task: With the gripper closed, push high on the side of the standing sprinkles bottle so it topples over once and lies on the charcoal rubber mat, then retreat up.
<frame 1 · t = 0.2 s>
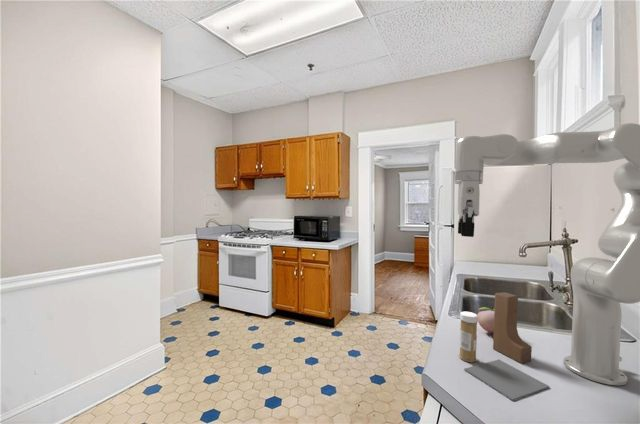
hand: (465, 235, 85), 36 cm above the counter, tool pointing down, fingers open, 9 cm apart
decorative fruit: (492, 334, 100), on the counter
wooden block: (511, 355, 85), on the counter
sprinkles bottle: (467, 359, 83), on the counter
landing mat: (504, 378, 73), on the counter
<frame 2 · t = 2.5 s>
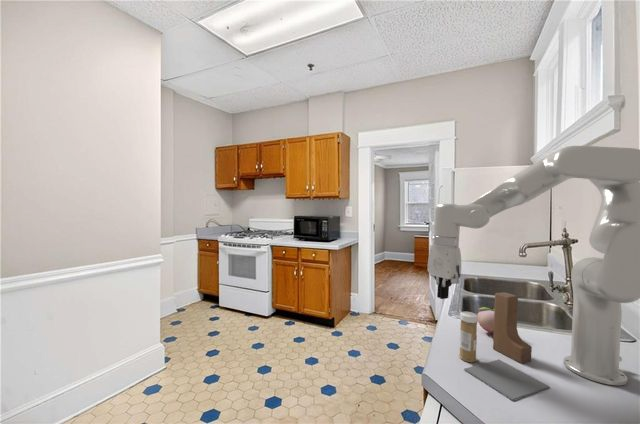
hand: (442, 297, 91), 15 cm above the counter, tool pointing down, fingers closed
nothing on the counter moved.
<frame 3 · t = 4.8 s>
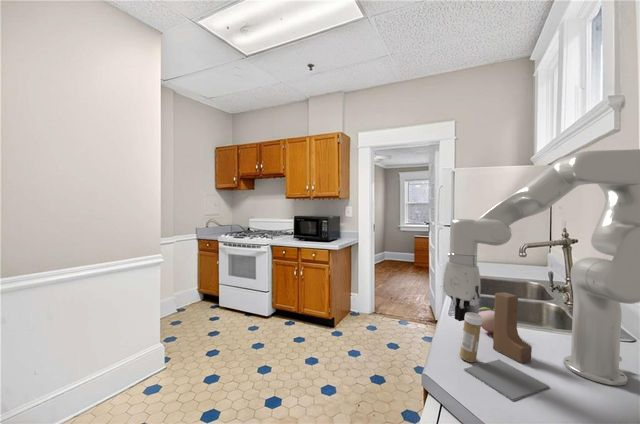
hand: (460, 319, 85), 11 cm above the counter, tool pointing down, fingers closed
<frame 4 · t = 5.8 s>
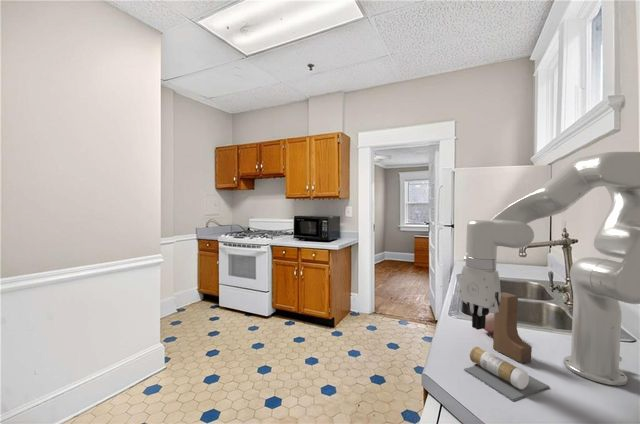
hand: (478, 327, 80), 11 cm above the counter, tool pointing down, fingers closed
sprinkles bottle: (473, 353, 81), point 3 cm above the counter, touching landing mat
everything else where it was.
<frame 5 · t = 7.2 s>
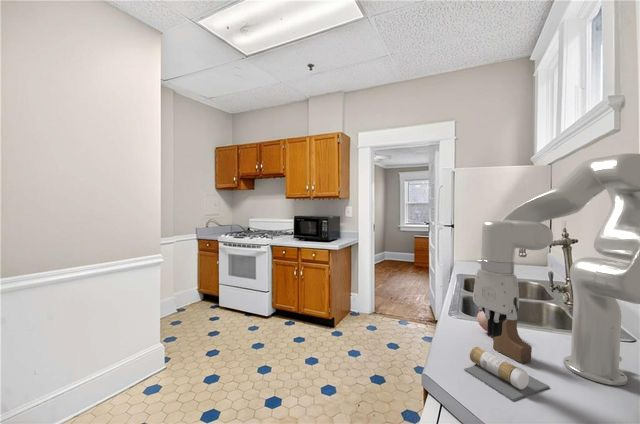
hand: (494, 334, 75), 11 cm above the counter, tool pointing down, fingers closed
nothing on the counter moved.
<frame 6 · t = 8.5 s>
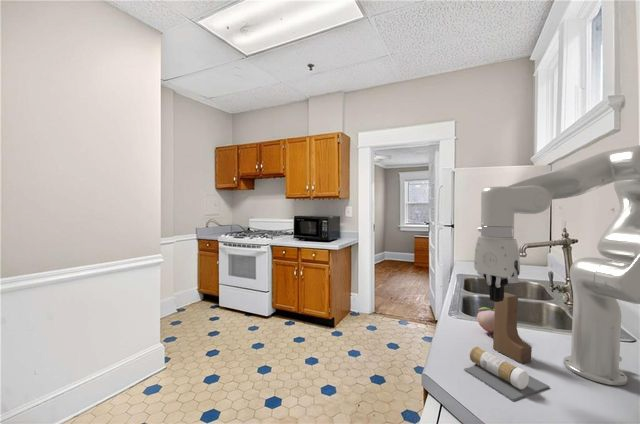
hand: (496, 300, 75), 20 cm above the counter, tool pointing down, fingers closed
nothing on the counter moved.
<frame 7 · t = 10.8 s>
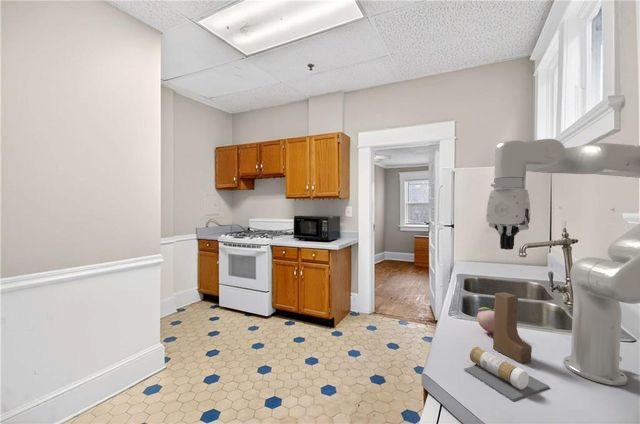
hand: (506, 248, 80), 33 cm above the counter, tool pointing down, fingers closed
nothing on the counter moved.
at the end: sprinkles bottle tilted 90°; sprinkles bottle touching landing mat; sprinkles bottle inside the target area (6.5 cm from its centre), point 2.6 cm above the counter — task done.
